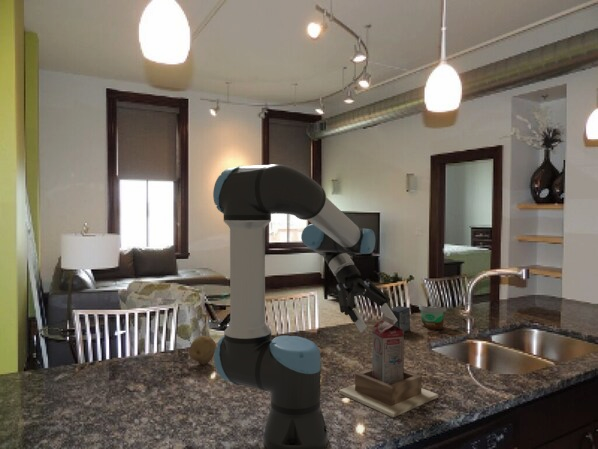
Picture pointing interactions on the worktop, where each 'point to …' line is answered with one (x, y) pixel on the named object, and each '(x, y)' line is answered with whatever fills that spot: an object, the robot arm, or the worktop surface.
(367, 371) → the birch collar board
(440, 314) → the food container
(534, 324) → the worktop surface
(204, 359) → the natural sponge
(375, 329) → the juice carton
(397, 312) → the small box
